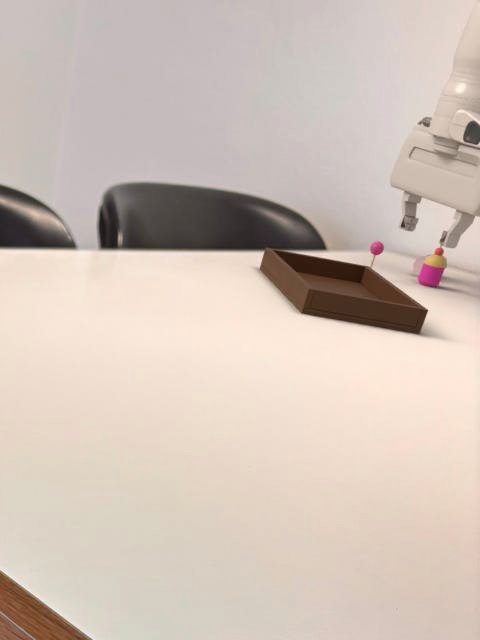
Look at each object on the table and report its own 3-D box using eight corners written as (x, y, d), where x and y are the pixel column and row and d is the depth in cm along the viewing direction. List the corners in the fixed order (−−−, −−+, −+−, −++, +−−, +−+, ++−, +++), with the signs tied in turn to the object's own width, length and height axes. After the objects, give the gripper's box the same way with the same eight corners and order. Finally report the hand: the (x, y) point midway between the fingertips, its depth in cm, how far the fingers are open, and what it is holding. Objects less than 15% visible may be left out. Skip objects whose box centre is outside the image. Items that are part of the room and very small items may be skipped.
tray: (361, 287, 134) (369, 266, 133) (419, 334, 116) (428, 310, 115) (259, 268, 133) (265, 247, 132) (301, 312, 115) (309, 288, 114)
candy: (409, 267, 155) (424, 223, 152) (462, 282, 151) (479, 238, 148) (358, 274, 142) (374, 226, 139) (415, 291, 138) (432, 243, 135)
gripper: (400, 110, 144) (364, 217, 151) (497, 135, 128) (452, 254, 135) (438, 118, 146) (401, 223, 153) (538, 143, 130) (492, 259, 137)
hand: (425, 238), depth 144 cm, fingers open, 8 cm apart
